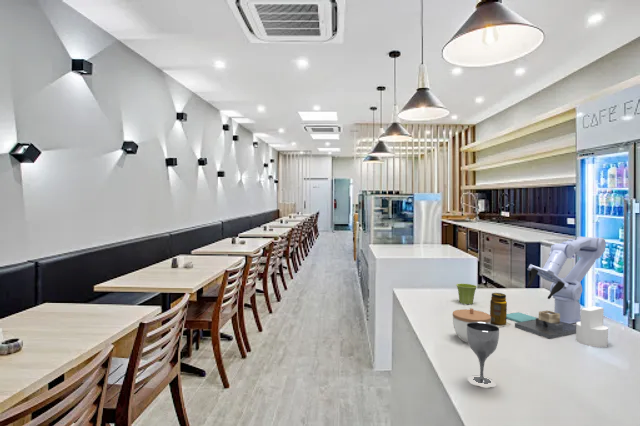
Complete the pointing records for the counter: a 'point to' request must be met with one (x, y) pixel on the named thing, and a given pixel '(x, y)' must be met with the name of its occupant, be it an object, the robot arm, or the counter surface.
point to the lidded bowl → (467, 320)
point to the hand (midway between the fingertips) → (538, 292)
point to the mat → (520, 317)
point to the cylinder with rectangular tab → (592, 328)
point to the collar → (549, 316)
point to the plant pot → (466, 293)
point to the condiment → (498, 309)
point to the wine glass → (482, 343)
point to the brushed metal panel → (547, 328)
